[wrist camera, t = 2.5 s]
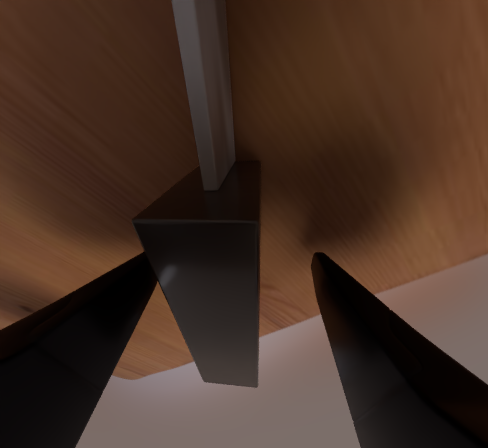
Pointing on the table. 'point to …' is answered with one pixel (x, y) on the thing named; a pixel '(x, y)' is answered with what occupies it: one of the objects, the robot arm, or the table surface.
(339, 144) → the table surface
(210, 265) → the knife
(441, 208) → the table surface
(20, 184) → the table surface
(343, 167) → the table surface
